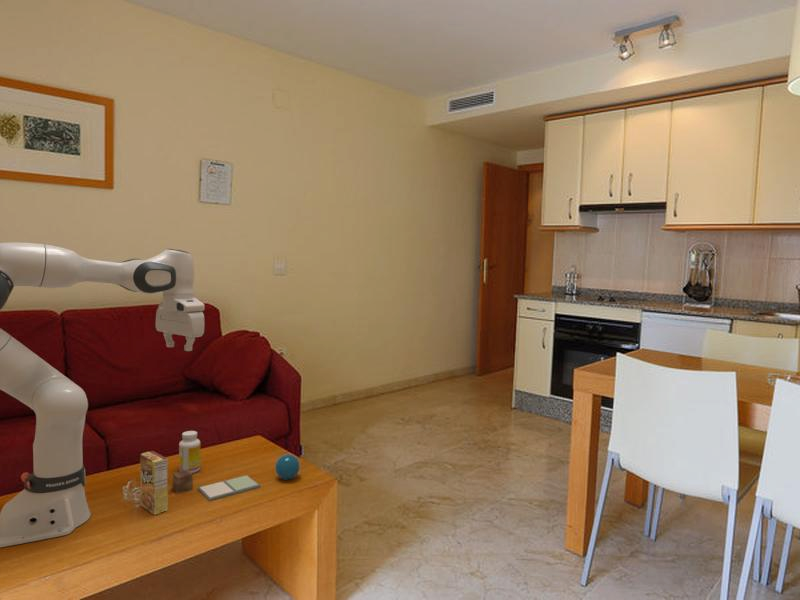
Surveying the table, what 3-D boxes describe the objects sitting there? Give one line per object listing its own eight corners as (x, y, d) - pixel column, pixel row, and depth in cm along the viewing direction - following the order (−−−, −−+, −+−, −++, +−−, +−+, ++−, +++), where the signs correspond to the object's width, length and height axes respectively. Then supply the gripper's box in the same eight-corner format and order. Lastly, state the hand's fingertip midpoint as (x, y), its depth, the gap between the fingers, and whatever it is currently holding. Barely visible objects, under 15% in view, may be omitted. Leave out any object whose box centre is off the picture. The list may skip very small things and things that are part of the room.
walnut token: (177, 493, 162) (177, 477, 162) (173, 488, 166) (172, 472, 165) (192, 489, 165) (192, 474, 165) (187, 484, 169) (187, 469, 168)
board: (209, 501, 158) (209, 498, 158) (197, 489, 166) (197, 486, 165) (260, 487, 168) (260, 484, 168) (246, 476, 176) (246, 474, 176)
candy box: (139, 505, 154) (139, 453, 153) (154, 500, 157) (153, 450, 156) (154, 515, 148) (153, 462, 147) (169, 510, 152) (168, 457, 150)
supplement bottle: (204, 467, 183) (204, 430, 182) (194, 475, 176) (194, 436, 175) (185, 465, 183) (185, 429, 182) (175, 473, 177) (175, 435, 176)
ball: (271, 477, 176) (271, 453, 175) (293, 471, 181) (293, 448, 180) (281, 485, 170) (281, 461, 169) (304, 480, 174) (304, 456, 174)
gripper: (149, 301, 164) (150, 346, 165) (189, 306, 153) (189, 354, 154) (168, 300, 169) (169, 343, 171) (208, 305, 158) (208, 351, 159)
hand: (179, 348), depth 162 cm, fingers open, 8 cm apart
